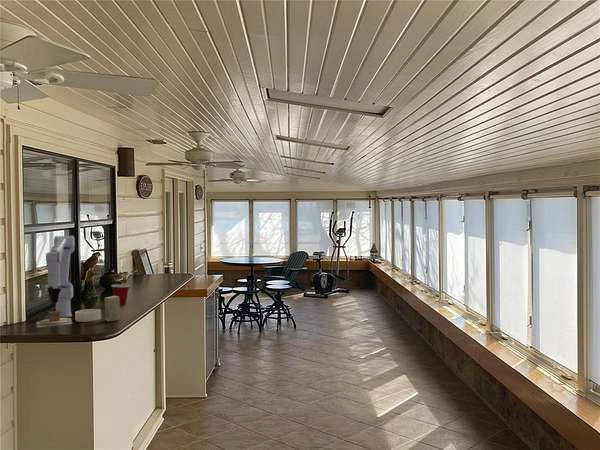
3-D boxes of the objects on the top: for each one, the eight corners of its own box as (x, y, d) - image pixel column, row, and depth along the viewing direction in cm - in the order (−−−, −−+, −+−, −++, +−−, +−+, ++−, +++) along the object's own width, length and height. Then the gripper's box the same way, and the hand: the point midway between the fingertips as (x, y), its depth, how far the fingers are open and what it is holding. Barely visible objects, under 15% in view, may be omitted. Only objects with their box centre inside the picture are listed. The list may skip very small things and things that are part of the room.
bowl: (75, 319, 276) (74, 310, 276) (99, 316, 281) (99, 308, 281) (76, 323, 265) (76, 314, 265) (101, 320, 270) (101, 311, 270)
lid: (38, 321, 269) (38, 310, 269) (68, 318, 275) (68, 308, 275) (39, 326, 256) (38, 315, 256) (70, 323, 263) (69, 312, 263)
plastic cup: (131, 305, 316) (130, 285, 315) (112, 306, 312) (111, 286, 311) (129, 302, 326) (129, 283, 325) (111, 303, 322) (110, 284, 321)
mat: (36, 322, 269) (36, 321, 269) (70, 318, 277) (70, 318, 277) (36, 328, 255) (36, 327, 255) (72, 324, 262) (72, 323, 262)
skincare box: (115, 318, 275) (115, 295, 274) (120, 319, 272) (119, 296, 272) (104, 320, 270) (103, 297, 269) (109, 321, 267) (108, 297, 267)
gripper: (43, 275, 270) (44, 301, 270) (46, 276, 258) (46, 303, 257) (58, 274, 274) (59, 300, 273) (62, 275, 261) (62, 302, 261)
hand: (54, 302), depth 265 cm, fingers open, 7 cm apart
